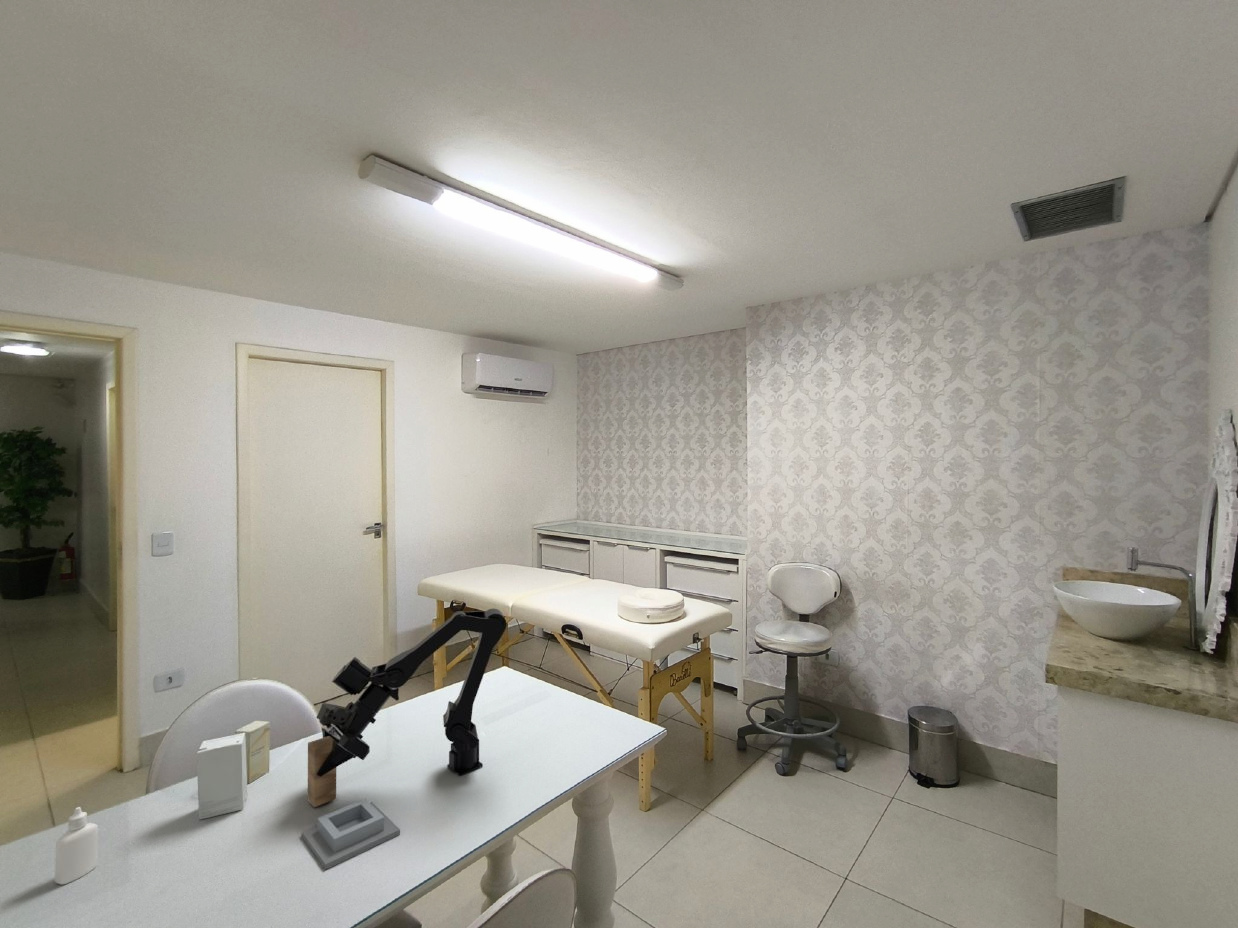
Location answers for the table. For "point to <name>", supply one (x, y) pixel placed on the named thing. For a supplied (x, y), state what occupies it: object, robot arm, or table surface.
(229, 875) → the table surface
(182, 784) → the table surface
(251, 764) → the skincare box
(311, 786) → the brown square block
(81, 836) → the eye dropper bottle
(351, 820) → the housing
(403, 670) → the robot arm
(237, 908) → the table surface
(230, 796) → the skincare box
